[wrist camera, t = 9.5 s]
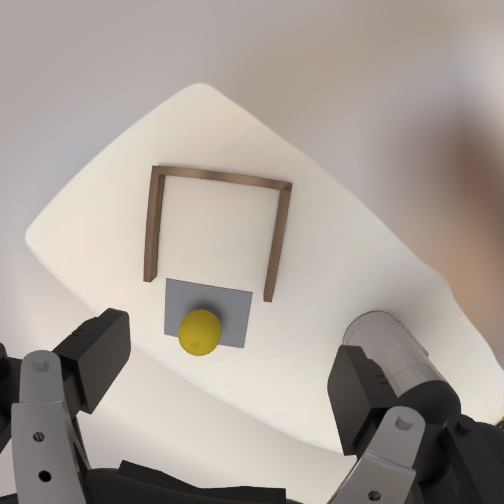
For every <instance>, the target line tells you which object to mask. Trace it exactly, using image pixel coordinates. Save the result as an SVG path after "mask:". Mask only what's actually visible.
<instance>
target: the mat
mask: <svg viewBox="0 0 504 504" xmlns="http://www.w3.org/2000/svg"><path fill="white" fill-rule="evenodd" d="M252 293H253V292H246V291H239V290H233V289H227V288H220V287H214V286H208V285H202V284H196V283H190V282H184V281H178V280H173V279H167V278H166V294H165V325H164V334H166V335H170V336H175V337H178V331H179V326H180V323H181V321H182V319H183V318H184V317H185V316H186V315H187V314H188V313H190V312H192V311H194V310H200V309H203V310H207V311H210V312H211V313H213V314H214V315H215V316H216V317H217V318H218V320H219V322H220V324H221V329H222V332H221V338H220V341H219V343H218V344H219V345H225V346H231V347H238V348H244V342H245V336H246V330H247V324H248V317H249V311H250V305H251V299H252Z"/></svg>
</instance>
